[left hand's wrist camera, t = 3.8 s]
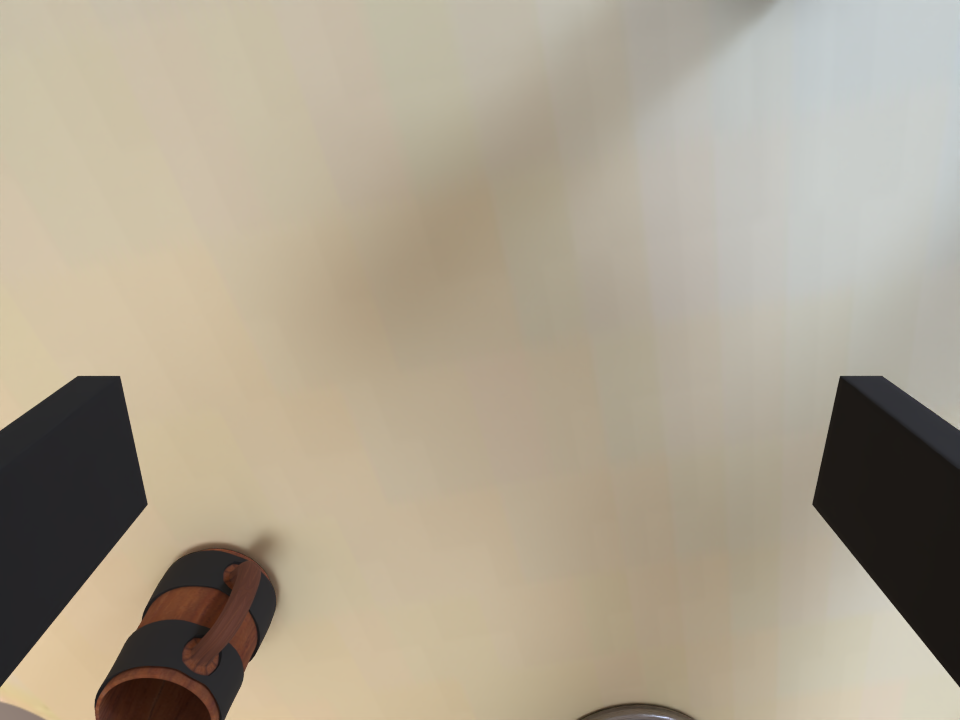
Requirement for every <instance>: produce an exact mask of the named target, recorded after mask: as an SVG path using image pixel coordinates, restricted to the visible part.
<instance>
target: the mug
mask: <svg viewBox="0 0 960 720" xmlns="http://www.w3.org/2000/svg"><path fill="white" fill-rule="evenodd" d="M275 608H276V596H275V591H274V588H273V586H272V584H271V582H270V580H269V578H268V576H267V574H266V573H265V571H264V570H263V569H262V568H261V567H260V566H259V565H258V564H257V563H256V562H255V561H253V560H252V559H250V558H249V557H247V556H245V555H243V554H240V553H238V552H235V551H231V550H226V549H206V550H202V551H198V552H194V553H191V554H188V555H186V556H184V557H182V558H180V559H178V560H177V561H176V562H175V563H173V564H172V565H171V567H170V568H169V569H168V570H167V572H166V573H165V575H164V576H163V578H162V579H161V581H160V582H159V584H158V586H157V587H156V589H155V591H154V593H153V595H152V596H151V598H150V600H149V602H148V604H147V606H146V608H145V610H144V613H143V616H142V621H141V623H140V625H139V626H138V628H137V630H136V631H135V632H134V633H133V634H132V635H131V636H130V637H129V638H128V640H127V641H126V642H125V644H124V646H123V648H122V650H121V652H120V654H119V656H118V658H117V660H116V661H115V663H114V665H113V667H112V669H111V670H110V672H109V674H108V675H107V677H106V679H105V680H104V682H103V684H102V685H101V687H100V688H99V690H98V693H97V695H96V699H95V716H96V720H225V718H226V715H227V713H228V711H229V709H230V707H231V705H232V703H233V701H234V699H235V697H236V695H237V693H238V691H239V689H240V687H241V685H242V682H243V677H244V671H245V669H246V667H247V665H248V663H249V662H250V661H251V660H252V658H253V657H254V656H255V654H256V652H257V650H258V649H259V647H260V645H261V643H262V641H263V639H264V637H265V635H266V633H267V630H268V628H269V626H270V623H271V621H272V618H273V615H274V612H275Z"/></svg>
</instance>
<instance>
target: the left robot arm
mask: <svg viewBox="0 0 960 720" xmlns="http://www.w3.org/2000/svg"><path fill="white" fill-rule="evenodd" d="M147 505H148V504H147V499H146V495H145V490H144V485H143V481H142V476H141V471H140V467H139V462H138V457H137V453H136V448H135V444H134V439H133V434H132V430H131V425H130V420H129V416H128V411H127V406H126V402H125V397H124V393H123V388H122V383H121V379H120V376H77V377H76V378H74V379H73V380H72V381H70V382H69V383H67V384H66V385H65V386H63V387H62V388H60V389H59V390H57V391H56V392H55V393H53V394H52V395H50V396H49V397H48V398H46V399H45V400H43V401H42V402H40V403H39V404H38V405H36V406H35V407H33V408H32V409H30V410H29V411H28V412H26V413H25V414H23V415H22V416H21V417H19V418H18V419H16V420H15V421H13V422H12V423H11V424H9V425H8V426H6V427H5V428H4V429H2V430H1V431H0V687H1V686H2V684H3V683H4V682H5V681H6V679H7V678H8V677H9V676H10V675H11V673H12V672H13V671H14V670H15V668H16V667H17V666H18V665H19V663H20V662H21V661H22V660H23V658H24V657H25V656H26V655H27V653H28V652H29V651H30V650H31V648H32V647H33V646H34V645H35V644H36V642H37V641H38V640H39V639H40V637H41V636H42V635H43V634H44V632H45V631H46V630H47V629H48V627H49V626H50V625H51V624H52V622H53V621H54V620H55V619H56V618H57V616H58V615H59V614H60V613H61V611H62V610H63V609H64V608H65V606H66V605H67V604H68V603H69V601H70V600H71V599H72V598H73V596H74V595H75V594H76V593H77V591H78V590H79V589H80V588H81V587H82V585H83V584H84V583H85V582H86V580H87V579H88V578H89V577H90V575H91V574H92V573H93V572H94V570H95V569H96V568H97V567H98V565H99V564H100V563H101V562H102V560H103V559H104V558H105V557H106V556H107V554H108V553H109V552H110V551H111V549H112V548H113V547H114V546H115V544H116V543H117V542H118V541H119V539H120V538H121V537H122V536H123V534H124V533H125V532H126V531H127V530H128V528H129V527H130V526H131V525H132V523H133V522H134V521H135V520H136V518H137V517H138V516H139V515H140V513H141V512H142V511H143V510H144V508H145V507H146V506H147ZM812 505H813V506H814V507H815V508H816V510H817V511H818V512H819V513H820V515H821V516H822V517H823V518H824V520H825V521H826V522H827V523H828V525H829V526H830V527H831V528H832V530H833V531H834V532H835V533H836V534H837V536H838V537H839V538H840V539H841V541H842V542H843V543H844V544H845V546H846V547H847V548H848V549H849V551H850V552H851V553H852V554H853V556H854V557H855V558H856V559H857V560H858V562H859V563H860V564H861V565H862V567H863V568H864V569H865V570H866V572H867V573H868V574H869V575H870V577H871V578H872V579H873V580H874V582H875V583H876V584H877V585H878V587H879V588H880V589H881V590H882V591H883V593H884V594H885V595H886V596H887V598H888V599H889V600H890V601H891V603H892V604H893V605H894V606H895V608H896V609H897V610H898V611H899V613H900V614H901V615H902V616H903V618H904V619H905V620H906V621H907V622H908V624H909V625H910V626H911V627H912V629H913V630H914V631H915V632H916V634H917V635H918V636H919V637H920V639H921V640H922V641H923V642H924V644H925V645H926V646H927V647H928V648H929V650H930V651H931V652H932V653H933V655H934V656H935V657H936V658H937V660H938V661H939V662H940V663H941V665H942V666H943V667H944V668H945V670H946V671H947V672H948V673H949V675H950V676H951V677H952V678H953V679H954V681H955V682H956V683H957V684H958V686H959V687H960V431H959V430H958V429H956V428H955V427H954V426H952V425H951V424H949V423H948V422H947V421H945V420H944V419H942V418H941V417H939V416H938V415H937V414H935V413H934V412H932V411H931V410H930V409H928V408H927V407H925V406H924V405H922V404H921V403H920V402H918V401H917V400H915V399H914V398H912V397H911V396H910V395H908V394H907V393H905V392H904V391H903V390H901V389H900V388H898V387H897V386H895V385H894V384H893V383H891V382H890V381H888V380H887V379H886V378H884V377H883V376H840V379H839V383H838V388H837V393H836V397H835V402H834V406H833V411H832V416H831V420H830V425H829V430H828V434H827V439H826V444H825V448H824V453H823V457H822V462H821V467H820V471H819V476H818V481H817V485H816V490H815V495H814V499H813V504H812ZM581 720H693V719H692V718H690V717H688V716H686V715H684V714H682V713H680V712H677V711H674V710H671V709H667V708H663V707H658V706H650V705H628V706H620V707H614V708H610V709H606V710H602V711H599V712H596V713H594V714H591V715H589V716H587V717H585V718H583V719H581Z"/></svg>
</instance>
